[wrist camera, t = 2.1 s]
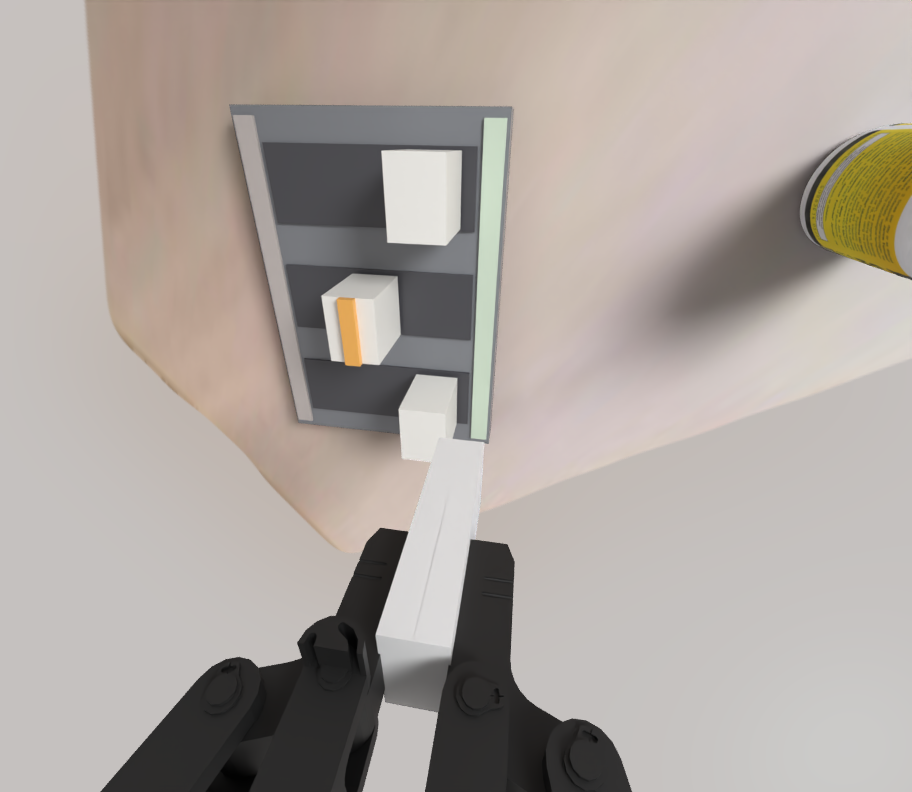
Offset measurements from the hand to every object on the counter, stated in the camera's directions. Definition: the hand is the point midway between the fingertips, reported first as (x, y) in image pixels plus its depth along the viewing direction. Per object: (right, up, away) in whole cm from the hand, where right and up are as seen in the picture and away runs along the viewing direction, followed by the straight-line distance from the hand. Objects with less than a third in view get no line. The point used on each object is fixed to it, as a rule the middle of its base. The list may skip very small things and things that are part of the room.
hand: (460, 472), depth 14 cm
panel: (-5, +10, +16) cm, 19 cm away
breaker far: (-2, +2, +17) cm, 17 cm away
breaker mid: (-5, +9, +14) cm, 17 cm away
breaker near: (-1, +14, +10) cm, 17 cm away
